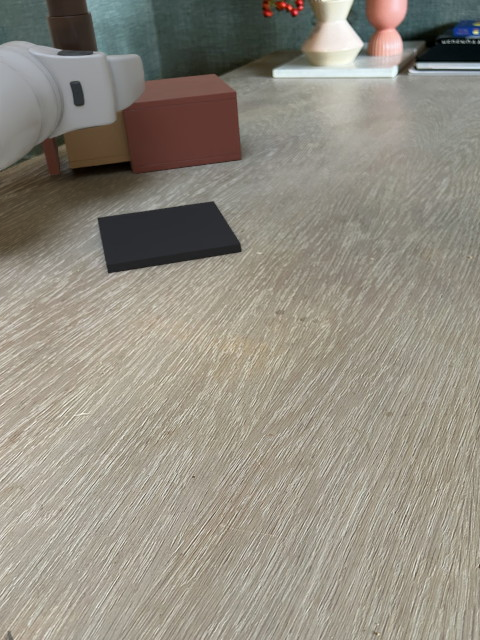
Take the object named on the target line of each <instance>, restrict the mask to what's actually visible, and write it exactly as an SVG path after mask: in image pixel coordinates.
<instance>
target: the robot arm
mask: <svg viewBox="0 0 480 640" xmlns="http://www.w3.org/2000/svg"><path fill="white" fill-rule="evenodd" d="M145 81H146V78H145V69H144V65H143V61H142V58H141V56H140V54H136V53H128V54H106V53H105V52H103V51H98V52H93V51H73V50H60V49H56V48H53V47H52V46H46V45H42V44H39V45H38V44H35V43H33V42H29V41H25V40H11V41H8V42H4V43H2V44H0V172H1V171H3V170H6V169H7V168H9V167H11V166H12V165H14V164H16V163H17V162H18V161H20V160H21V159H23V158H24V157H25V156H26V155H27V154H29V153H30V152H31V151H32V150H33V149H34V148H35V147H36V146H38V145H41V144H40V143H41V142H43V141H44V140H45V139H47V138H54V137H56V138H57V137H60V136H63V134H65V133H67V132H70V131H74V130H81V129H86V128H92V127H99V126H103V125H109V124H112V123H114V122H115V121H116V120H117V112H118V111H121V110H124V109H126V108H128V107H129V106H131V105H132V104H133V103H134V102H135V101H137V100H138V99H139V98H140V97H141V95H142V94H143V93H144V91H145Z"/></svg>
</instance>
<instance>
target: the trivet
mask: <svg viewBox="0 0 480 640" xmlns="http://www.w3.org/2000/svg"><path fill="white" fill-rule="evenodd" d="M97 224H98V229H99V234H100V239H101V244H102V249H103V255H104V260H105V265H106V270H107V273H108V274H109V273H111V274H112V273H117V272H123V271H129V270H135V269H141V268H147V267H152V266H154V267H155V266H161V265H165V264H167V265H168V264H173V263H178V262H184V261H190V260H197V259H204V258H209V257H214V256H215V257H217V256H222V255H228V254H233V253H240V252H242V243H241V241H240V240H239V238H238V237H237V235H236V234H235V232H234V231H233V229H232V227H231V226H230V225H229V223H228V221H227V219H226V218H225V216H224V215H223V213H222V212H221V210H220V209H219V207H218V205H217V203H215V201H214V200H212V201H204V202H197V203H190V204H184V205H175V206H170V207H163V208H156V209H150V210H149V209H148V210H142V211H135V212H128V213H120V214H114V215H107V216H100V217H97Z"/></svg>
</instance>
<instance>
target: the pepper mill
mask: <svg viewBox="0 0 480 640" xmlns="http://www.w3.org/2000/svg"><path fill="white" fill-rule="evenodd" d="M45 5H46V9H47V15H46V16H45V17H46V22H47V27H48V32H49V38H50V42H51V45H52V46H51V47H52V48H56V49H60V50H73V51H93V52H99V50H98V44H97V43H98V42H97V38H96V34H95V33H96V32H95V27H94V22H93V15H92V12H90V11H89V9H88V3H87V0H45Z"/></svg>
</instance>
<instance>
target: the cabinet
mask: <svg viewBox="0 0 480 640" xmlns="http://www.w3.org/2000/svg"><path fill="white" fill-rule="evenodd" d="M237 94H238V93H237V91H236V90H235V89H234V88H233V87H232V86H230V85H229V84H227V82H225V81H224V80H222V78H220V77H219V76H218V75H217V74H215V73H209V74H201V75H190V76H181V77H171V78H161V79H160V78H159V79H152V80H151V79H150V80H145V91H144V93H143V94H142V95H141V97H140V98H139V99H138V100H137V101H135V102H134V103H133V104H132V105H131V106H129V107H128V108H126V109H124V110H122V111H123V117H124V123H125V128H126V134H127V140H128V146H129V152H130V158H131V161H128V163H129V165H130V168H131V170H132V171H131V172H132V173H133V175H134V174H140V173H141V174H142V173H149V172H157V171H164V170H165V171H166V170H173V169H179V168H180V169H181V168H187V167H194V166H202V165H203V166H204V165H211V164H217V163H225V162H233V161H234V162H235V161H240V160H242V146H241V135H240V134H241V133H240V123H239V122H240V121H239V108H238V95H237Z"/></svg>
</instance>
